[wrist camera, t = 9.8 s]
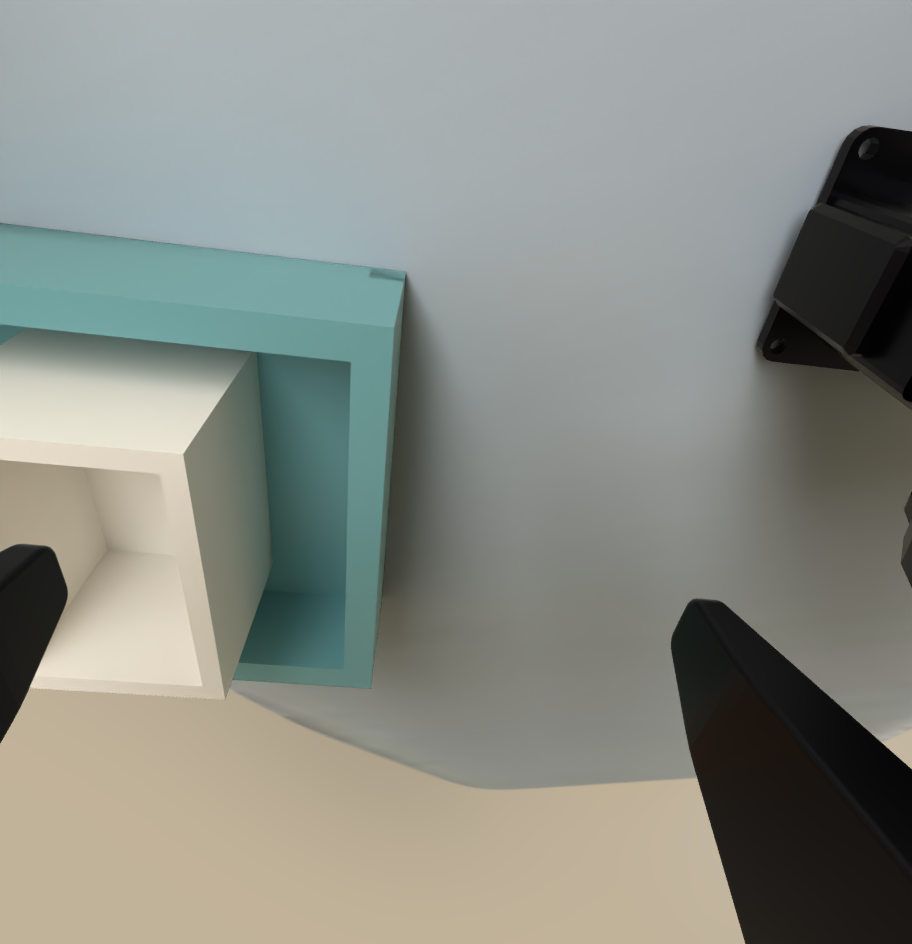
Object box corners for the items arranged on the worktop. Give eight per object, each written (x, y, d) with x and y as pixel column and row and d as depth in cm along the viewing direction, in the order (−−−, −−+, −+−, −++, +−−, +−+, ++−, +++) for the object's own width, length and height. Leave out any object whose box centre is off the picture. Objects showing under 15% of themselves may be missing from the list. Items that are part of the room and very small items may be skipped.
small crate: (256, 346, 18) (182, 454, 13) (273, 563, 23) (225, 699, 18) (35, 322, 18) (-128, 425, 13) (102, 549, 23) (5, 686, 18)
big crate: (405, 271, 18) (394, 327, 14) (382, 598, 26) (370, 688, 22) (-131, 207, 17) (-297, 250, 13) (18, 569, 25) (-59, 660, 21)
